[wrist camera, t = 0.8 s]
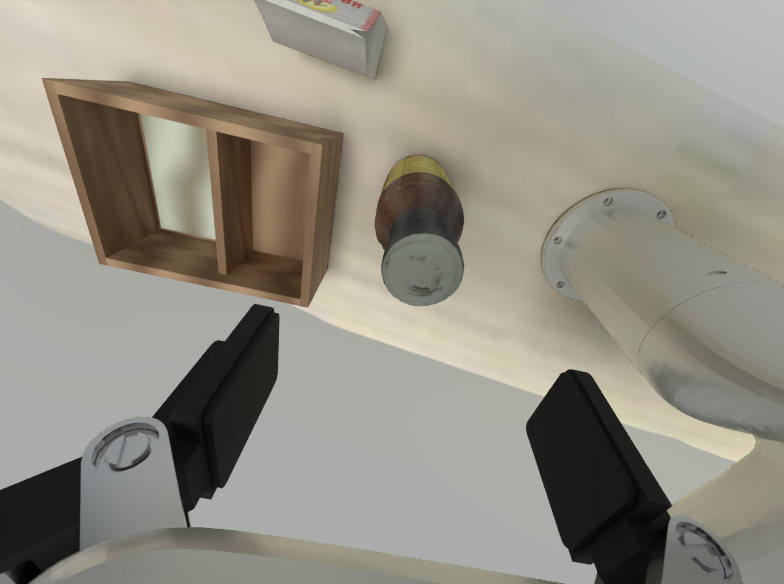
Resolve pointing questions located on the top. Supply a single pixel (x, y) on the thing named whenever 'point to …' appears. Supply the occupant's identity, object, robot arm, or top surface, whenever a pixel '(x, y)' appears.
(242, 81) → the top surface
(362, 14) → the printed food box
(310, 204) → the crate
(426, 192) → the sauce bottle
